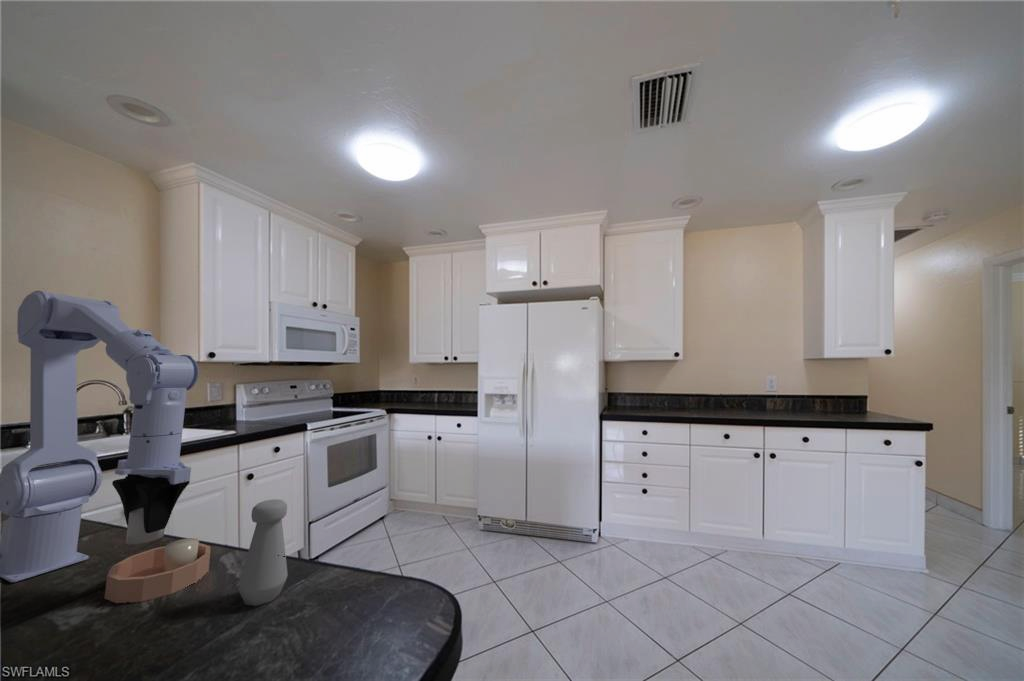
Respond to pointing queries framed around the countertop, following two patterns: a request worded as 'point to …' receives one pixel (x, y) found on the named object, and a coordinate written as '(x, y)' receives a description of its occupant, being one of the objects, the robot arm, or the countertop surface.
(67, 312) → the robot arm
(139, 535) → the pebble
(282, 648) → the countertop surface
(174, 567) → the pebble
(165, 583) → the bowl
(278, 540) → the salt shaker
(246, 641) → the countertop surface
